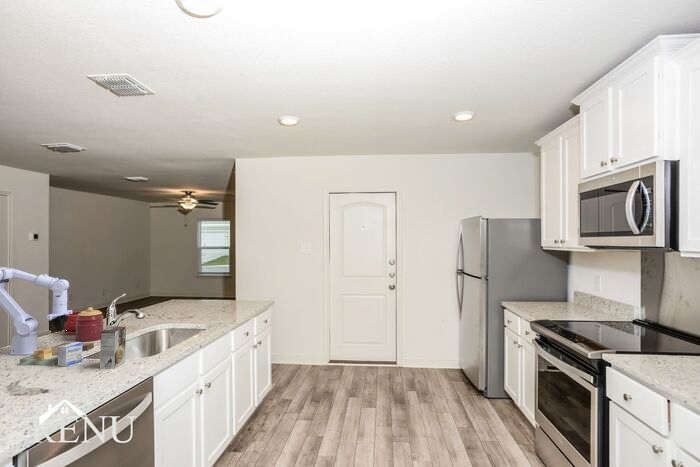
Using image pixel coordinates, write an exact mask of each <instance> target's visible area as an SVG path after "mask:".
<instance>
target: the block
mask: <svg viewBox="0 0 700 467" xmlns="http://www.w3.org/2000/svg"><path fill="white" fill-rule="evenodd" d="M37 349H38V350H35V351H34V353H33V354H34V359H45V358H47V357H50V356H52V347H41V348H37Z"/></svg>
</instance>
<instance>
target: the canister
mask: <svg viewBox="0 0 700 467" xmlns="http://www.w3.org/2000/svg"><path fill="white" fill-rule="evenodd" d="M81 311H82V312H81V313H79V314H78V318H76V319H75V320H76V321H77V323H76V325H75V326H76V335H74V339H75V342H82V343H88V342H94V341H98V340H101V331H103V330H104V323H105V321H104V315H103V311H100V310H99V309H94V308H93V307H92V306H90V307H88V308H87V310H84V311H83V310H81Z"/></svg>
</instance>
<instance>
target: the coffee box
mask: <svg viewBox="0 0 700 467" xmlns="http://www.w3.org/2000/svg"><path fill="white" fill-rule="evenodd" d="M126 329H127V328H126V326H117V325H116V326H110V327H108V328H105V329H103V331H101V339H100V350H99V352H100V353H99V354H100V355H99V368H100V369H106V370H107V369H116V368H117V367H119V366H121V365H122V364H124V363H125V362H126V340H127V339H126V335H127V334H126V331H127V330H126Z"/></svg>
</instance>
